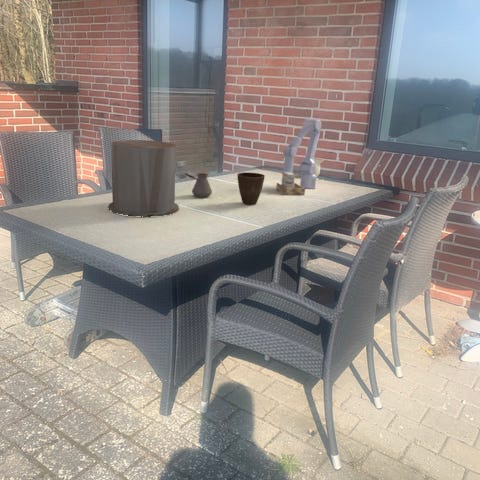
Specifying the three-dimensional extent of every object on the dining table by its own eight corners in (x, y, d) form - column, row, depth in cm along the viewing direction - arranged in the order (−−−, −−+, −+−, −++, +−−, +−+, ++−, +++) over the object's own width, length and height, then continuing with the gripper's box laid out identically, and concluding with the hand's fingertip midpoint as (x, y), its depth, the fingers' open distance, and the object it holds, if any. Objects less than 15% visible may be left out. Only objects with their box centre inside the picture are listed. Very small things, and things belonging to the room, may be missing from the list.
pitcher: (301, 175, 376) (303, 156, 371) (324, 178, 368) (326, 159, 364) (296, 177, 366) (298, 158, 362) (319, 180, 359) (321, 161, 355)
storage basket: (149, 221, 231) (149, 151, 221) (93, 209, 247) (90, 142, 237) (192, 207, 260) (194, 145, 251) (139, 197, 276) (139, 138, 266)
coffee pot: (200, 193, 295) (201, 168, 290) (215, 196, 289) (217, 170, 284) (175, 198, 278) (176, 171, 274) (191, 202, 272) (192, 174, 267)
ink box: (293, 193, 311) (295, 174, 307) (285, 193, 309) (287, 174, 305) (287, 189, 318) (289, 171, 314) (280, 189, 317) (282, 171, 313)
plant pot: (257, 208, 268) (259, 178, 263) (231, 204, 272) (233, 175, 268) (266, 202, 281) (268, 174, 276) (241, 199, 286) (242, 171, 281)
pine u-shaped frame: (294, 189, 323) (295, 183, 321) (304, 194, 307) (304, 188, 306) (276, 189, 319) (276, 183, 318) (285, 194, 304) (285, 188, 303)
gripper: (278, 164, 320) (277, 185, 324) (286, 167, 307) (284, 189, 311) (289, 164, 322) (287, 185, 326) (297, 168, 308) (295, 189, 312)
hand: (286, 187), depth 318 cm, fingers closed, pressing on ink box
